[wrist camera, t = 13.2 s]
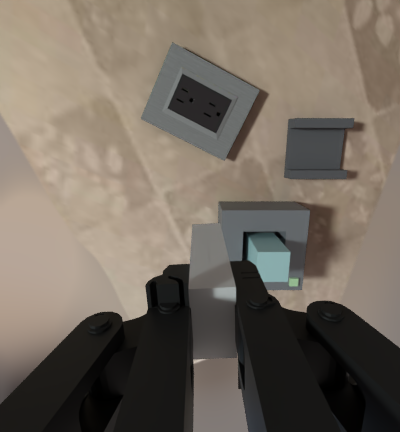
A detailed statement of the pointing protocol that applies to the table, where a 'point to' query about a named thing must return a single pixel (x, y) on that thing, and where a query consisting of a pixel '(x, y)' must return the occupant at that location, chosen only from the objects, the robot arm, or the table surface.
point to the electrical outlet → (199, 102)
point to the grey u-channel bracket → (315, 148)
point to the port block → (262, 222)
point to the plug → (267, 255)
